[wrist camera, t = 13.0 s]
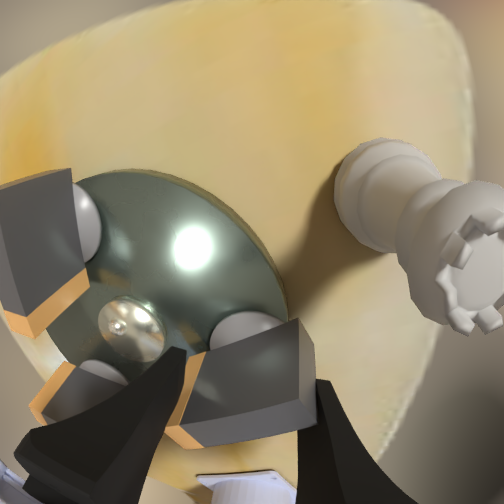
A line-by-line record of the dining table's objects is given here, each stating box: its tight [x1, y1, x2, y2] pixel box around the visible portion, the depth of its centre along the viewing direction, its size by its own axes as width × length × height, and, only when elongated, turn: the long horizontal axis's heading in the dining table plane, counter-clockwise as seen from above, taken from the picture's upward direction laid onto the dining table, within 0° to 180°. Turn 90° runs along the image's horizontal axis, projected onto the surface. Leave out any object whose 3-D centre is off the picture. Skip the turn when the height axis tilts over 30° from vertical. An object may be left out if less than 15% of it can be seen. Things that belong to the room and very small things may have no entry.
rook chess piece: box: [334, 138, 504, 336], centre depth 8 cm, size 4×4×8 cm
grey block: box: [164, 311, 318, 450], centre depth 11 cm, size 6×4×5 cm
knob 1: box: [0, 168, 102, 339], centre depth 10 cm, size 6×4×5 cm
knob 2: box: [29, 359, 130, 425], centre depth 14 cm, size 6×4×5 cm
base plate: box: [46, 169, 288, 383], centre depth 14 cm, size 15×15×2 cm
